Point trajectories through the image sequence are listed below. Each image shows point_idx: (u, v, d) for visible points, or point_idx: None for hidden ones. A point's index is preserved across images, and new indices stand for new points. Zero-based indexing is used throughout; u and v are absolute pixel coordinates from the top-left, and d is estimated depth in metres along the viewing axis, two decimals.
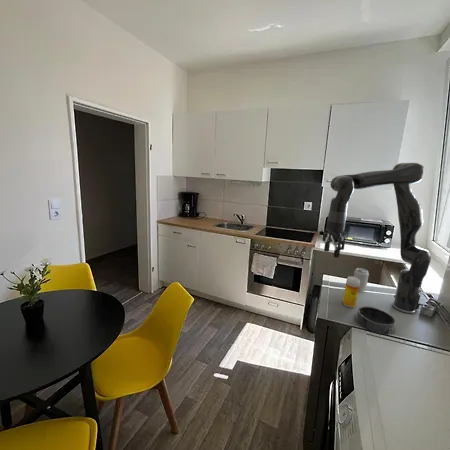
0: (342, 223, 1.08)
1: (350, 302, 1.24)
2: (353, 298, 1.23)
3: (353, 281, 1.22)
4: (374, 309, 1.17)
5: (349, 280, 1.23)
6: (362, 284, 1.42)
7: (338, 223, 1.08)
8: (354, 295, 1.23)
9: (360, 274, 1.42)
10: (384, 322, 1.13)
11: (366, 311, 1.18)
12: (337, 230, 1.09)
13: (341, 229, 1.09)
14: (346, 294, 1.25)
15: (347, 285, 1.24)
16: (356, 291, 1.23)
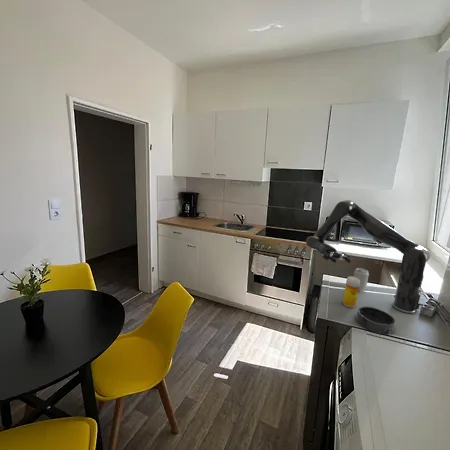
0: (322, 249, 1.48)
1: (350, 302, 1.24)
2: (353, 298, 1.23)
3: (353, 281, 1.22)
4: (374, 309, 1.17)
5: (349, 280, 1.23)
6: (362, 284, 1.42)
7: (321, 252, 1.48)
8: (354, 295, 1.23)
9: (360, 274, 1.42)
10: (384, 322, 1.13)
11: (366, 311, 1.18)
12: None
13: (324, 251, 1.45)
14: (346, 294, 1.25)
15: (347, 285, 1.24)
16: (356, 291, 1.23)
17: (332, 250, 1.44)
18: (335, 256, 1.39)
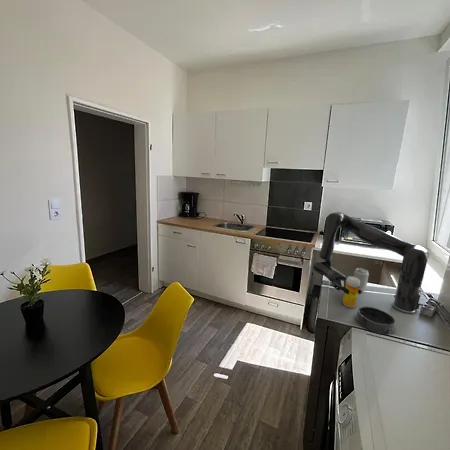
0: (331, 276, 1.38)
1: (350, 302, 1.24)
2: (353, 298, 1.23)
3: (353, 281, 1.22)
4: (374, 309, 1.17)
5: (349, 280, 1.23)
6: (362, 284, 1.42)
7: (330, 280, 1.39)
8: (354, 295, 1.23)
9: (360, 274, 1.42)
10: (384, 322, 1.13)
11: (366, 311, 1.18)
12: (333, 282, 1.35)
13: (333, 279, 1.36)
14: (346, 294, 1.25)
15: (347, 285, 1.24)
16: (356, 291, 1.23)
17: (342, 278, 1.34)
18: (345, 285, 1.30)
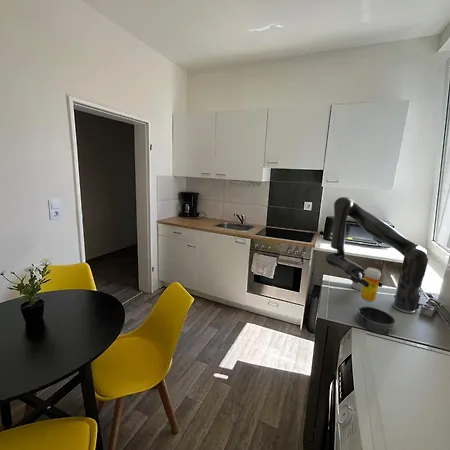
0: (346, 268, 1.26)
1: (369, 296, 1.12)
2: (373, 292, 1.11)
3: (373, 273, 1.10)
4: (374, 309, 1.17)
5: (369, 272, 1.11)
6: (362, 284, 1.42)
7: (346, 272, 1.27)
8: (374, 288, 1.11)
9: None
10: (384, 322, 1.13)
11: (366, 311, 1.18)
12: None
13: (350, 271, 1.24)
14: (365, 287, 1.13)
15: (366, 277, 1.12)
16: (376, 284, 1.11)
17: (359, 270, 1.23)
18: (363, 278, 1.18)
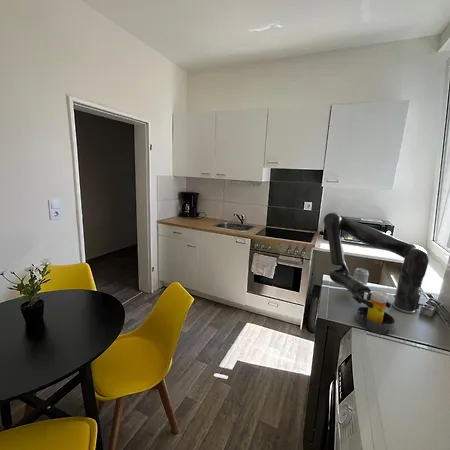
0: (352, 287, 1.23)
1: (376, 320, 1.09)
2: (379, 315, 1.08)
3: (380, 296, 1.07)
4: None
5: (375, 295, 1.08)
6: None
7: (351, 291, 1.23)
8: (380, 312, 1.08)
9: (360, 274, 1.42)
10: (384, 322, 1.13)
11: (366, 311, 1.18)
12: (355, 294, 1.20)
13: (355, 290, 1.20)
14: (371, 311, 1.10)
15: (372, 300, 1.09)
16: (383, 307, 1.07)
17: (365, 289, 1.19)
18: (370, 298, 1.14)
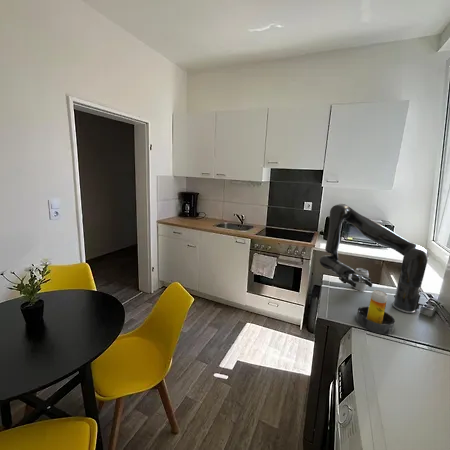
0: (338, 270, 1.34)
1: (376, 320, 1.09)
2: (379, 315, 1.08)
3: (380, 296, 1.07)
4: None
5: (375, 295, 1.08)
6: (362, 284, 1.42)
7: (338, 274, 1.35)
8: (380, 312, 1.08)
9: (360, 274, 1.42)
10: (384, 322, 1.13)
11: (366, 311, 1.18)
12: None
13: (341, 272, 1.32)
14: (371, 311, 1.10)
15: (372, 300, 1.09)
16: (383, 307, 1.07)
17: (350, 272, 1.31)
18: (354, 279, 1.26)
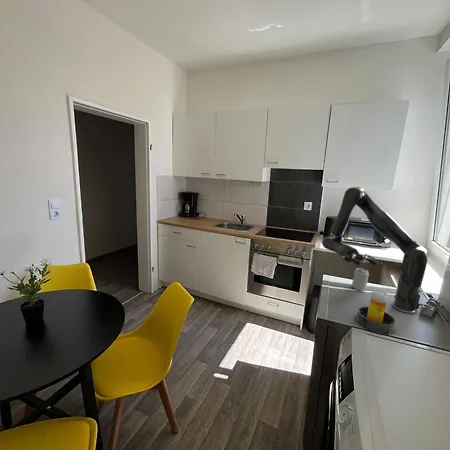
0: (342, 251, 1.32)
1: (376, 320, 1.09)
2: (379, 315, 1.08)
3: (380, 296, 1.07)
4: None
5: (375, 295, 1.08)
6: (362, 284, 1.42)
7: (341, 254, 1.32)
8: (380, 312, 1.08)
9: (360, 274, 1.42)
10: (384, 322, 1.13)
11: (366, 311, 1.18)
12: None
13: (345, 252, 1.29)
14: (371, 311, 1.10)
15: (372, 300, 1.09)
16: (383, 307, 1.07)
17: (354, 251, 1.28)
18: (358, 258, 1.23)
